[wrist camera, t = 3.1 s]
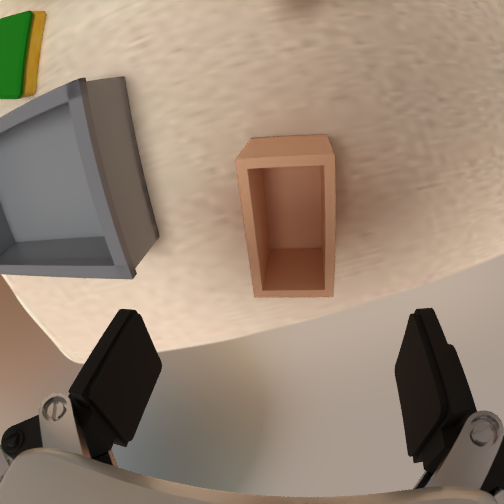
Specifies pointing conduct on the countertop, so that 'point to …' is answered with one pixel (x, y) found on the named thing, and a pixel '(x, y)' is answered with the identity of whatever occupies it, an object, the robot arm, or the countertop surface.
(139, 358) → the robot arm
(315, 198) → the box
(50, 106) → the big crate
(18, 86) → the dish sponge
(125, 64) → the countertop surface
